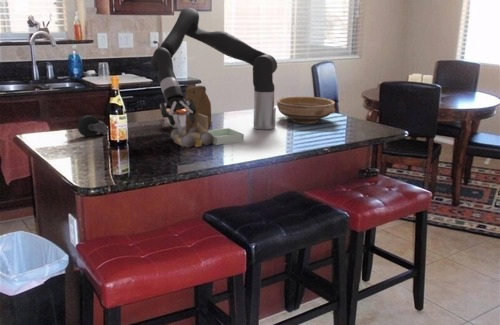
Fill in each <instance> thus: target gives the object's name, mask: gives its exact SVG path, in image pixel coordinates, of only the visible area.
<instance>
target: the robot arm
mask: <svg viewBox="0 0 500 325" xmlns="http://www.w3.org/2000/svg"><path fill="white" fill-rule="evenodd" d="M199 14H200V13H199V12H198V10H196V9H195V8H191V7H184V8H182V10H180V12H179V15H178V17H177V20H176V22H175V23H174V25H173V27H172V28H171V30H170V32H169V34H168V35H167V36H166V37H165V38H164V40H163V41H162V43H161V44H160V46H159V47H158V48H156V49H155V50H154V52H153V54H152V57H151V59H150V67H151V69H152V70H153V71H155V72H157V79H158V82H159V85H160V89H161V92H162V95H163V98H164V101H165V102H164V101H160V104H159V109H160V113H161V116H162V118H165V119H167V118H168V119H169V122H170V124H172V126H174V125H175V121H174V118H173V115H172V112H175V113H176V109H184V108H185V109H188V113H186V114H187V115H188V116H189V119H190V121H191V124H193V123H194V121H195V118H194V114H195V113H196V108H195V105H194V103H193V101H192V100H190V101H186V99H185V97H184V94H183V92H182V91H183V90H182V89H181V86H180V83H179V81H178V79H177V77H176V75H175V72H174V65H173V57H174V56H175V54H176V53H177V52H178V50H179V49H180V47H181V45H182V43H183V41H184V39H185V36H187V37H190V38H192V39H193V40H197V41H199V42H200V43H203V44H205V45H206V46H209V47H211V48H213V49H214V50H216V51H217V52H219V53H221V54H223V55H225V56H227V57H228V58H233V59H234V60H238V61H242V62H245V63H246V64H248V65H251V66H252V84H253V85H252V86H253V90H254V91H253V92H254V93H253V129H255V130H260V131H261V130H272V129H276V116H277V115H276V113H277V112H276V110H277V109H276V107H275V84H274V81H273V79H274V78H273V75H274V73H275V72H276V71H277V68H278V63H277V62H278V61H277V60H276V58H275V57H274V56H272V55H270V54H268V53H266V52H263V51H261V50H259V49H257V48H254V47H252V46H250V45H249V44H248V43H246V42H244V41H242V40H241V39H240V38H238V37H236V36H235V35H232V34H231V33H229V32H226V31H223V30H216V31H215V30H214V31H207V30H205V29H202V28H201V27H199V24H200V23H199V22H200V15H199ZM187 105H188V106H187ZM166 107H167V109H170V112H169V113H167V111H166V110H167V109H166ZM189 107H190V109H189ZM170 124H169V125H170Z"/></svg>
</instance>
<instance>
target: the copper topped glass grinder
mask: <svg viewBox="0 0 500 325" xmlns="http://www.w3.org/2000/svg"><path fill="white" fill-rule="evenodd" d="M176 113H177V119H178V128H177V129H178V137H180V138H182V137H183V136H184V135H185V134H187V133H188V129H187V116H186V113H188V109H176Z"/></svg>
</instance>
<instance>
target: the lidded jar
mask: <svg viewBox="0 0 500 325" xmlns="http://www.w3.org/2000/svg"><path fill="white" fill-rule="evenodd" d="M184 109H185V108H184ZM166 111H167V113H169V112H170V109H169V108H167V109H166ZM172 115H173V118H174V121H175V125H174V126H172V124H170V122H169V119H168V118H167V117H166V120H167V123H168V124H169V125H170V127H171V128H173V129H178V119H177V113H175V112H172Z"/></svg>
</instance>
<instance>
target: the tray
mask: <svg viewBox="0 0 500 325" xmlns="http://www.w3.org/2000/svg"><path fill="white" fill-rule="evenodd" d="M208 133H210V134H212V136H213V141H212V143H211V144H212V145H215V146H218V145H226V144H233V143H241V142H244V137H245V134H244V133H242V132H240V131H238V130H235V129H232V128H230V127H225V128H216V129H215V128H214V129H209V130H208Z"/></svg>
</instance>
